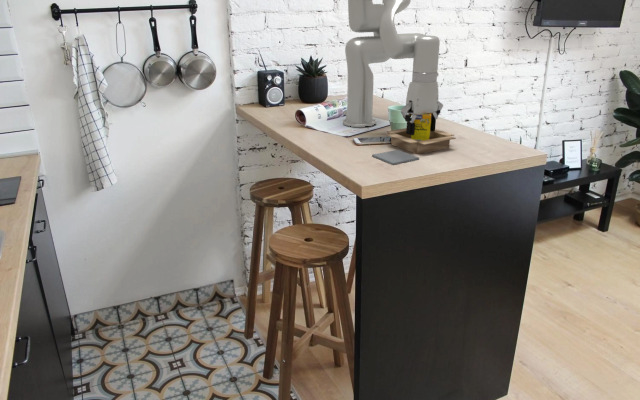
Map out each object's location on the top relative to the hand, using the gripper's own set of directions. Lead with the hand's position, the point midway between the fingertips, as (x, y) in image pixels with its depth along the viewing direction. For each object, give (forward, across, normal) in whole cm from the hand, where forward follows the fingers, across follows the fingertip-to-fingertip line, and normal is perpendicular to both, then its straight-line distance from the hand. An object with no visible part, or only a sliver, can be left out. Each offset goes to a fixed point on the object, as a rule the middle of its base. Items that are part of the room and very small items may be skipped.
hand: (420, 132), depth 167 cm
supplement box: (+5, 0, 0) cm, 5 cm away
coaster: (+5, +15, +6) cm, 17 cm away
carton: (+5, 0, 0) cm, 5 cm away
